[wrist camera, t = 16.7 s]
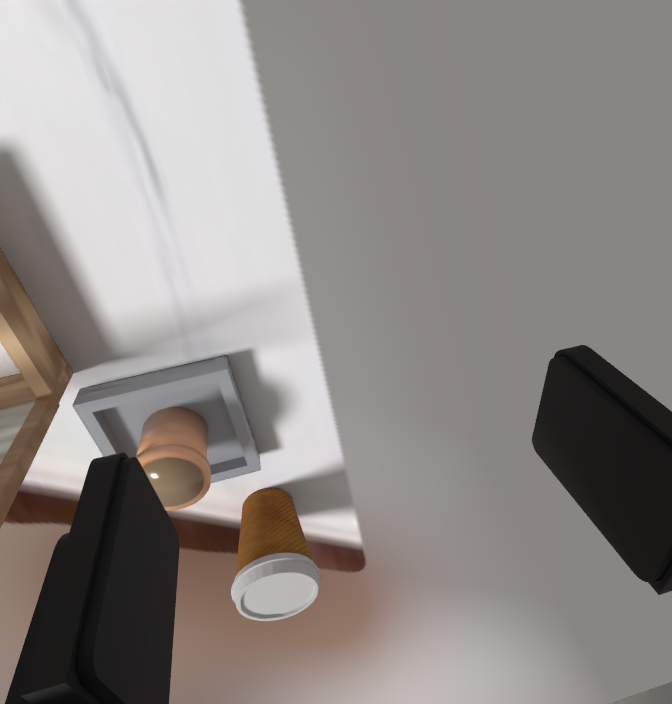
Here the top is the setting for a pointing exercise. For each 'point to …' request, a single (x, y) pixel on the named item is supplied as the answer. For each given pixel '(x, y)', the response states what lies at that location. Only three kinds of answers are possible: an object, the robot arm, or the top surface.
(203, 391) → the slate tray
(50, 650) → the robot arm
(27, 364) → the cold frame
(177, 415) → the terracotta pot
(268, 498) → the disposable coffee cup
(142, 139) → the top surface
